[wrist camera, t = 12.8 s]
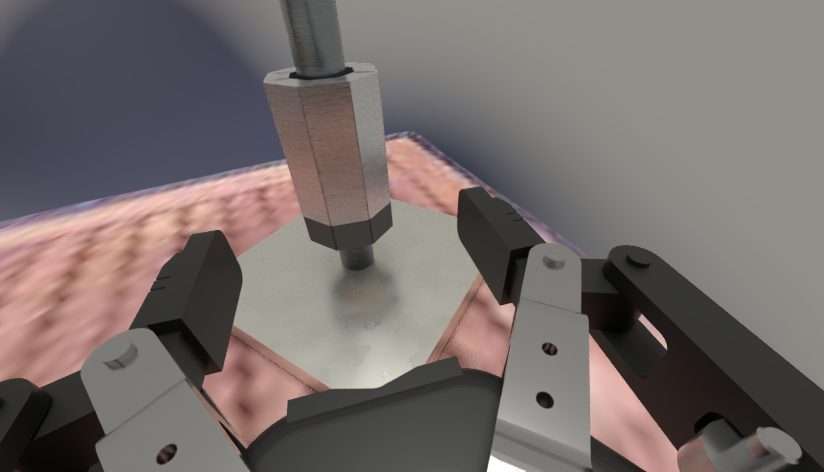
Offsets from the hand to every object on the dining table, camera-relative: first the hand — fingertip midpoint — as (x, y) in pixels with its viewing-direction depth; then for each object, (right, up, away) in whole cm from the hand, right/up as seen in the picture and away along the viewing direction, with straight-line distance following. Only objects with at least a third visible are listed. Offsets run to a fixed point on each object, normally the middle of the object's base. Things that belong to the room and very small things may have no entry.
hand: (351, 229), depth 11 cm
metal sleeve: (-2, +2, +11) cm, 11 cm away
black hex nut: (-2, +1, +12) cm, 12 cm away
